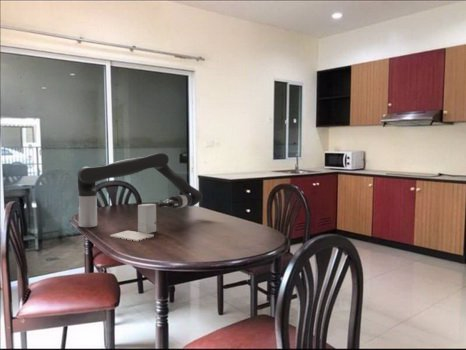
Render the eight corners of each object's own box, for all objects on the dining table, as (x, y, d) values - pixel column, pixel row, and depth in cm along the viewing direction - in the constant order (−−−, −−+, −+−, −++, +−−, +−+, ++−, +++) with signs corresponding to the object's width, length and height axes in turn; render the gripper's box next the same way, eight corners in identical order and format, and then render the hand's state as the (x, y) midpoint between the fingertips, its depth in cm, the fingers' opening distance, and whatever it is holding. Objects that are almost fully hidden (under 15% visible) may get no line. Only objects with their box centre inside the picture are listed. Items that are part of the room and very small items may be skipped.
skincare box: (146, 234, 193) (145, 205, 192) (137, 233, 196) (137, 204, 195) (156, 231, 201) (156, 203, 200) (148, 230, 204) (148, 202, 203)
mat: (110, 236, 188) (110, 235, 188) (127, 231, 199) (127, 230, 199) (137, 241, 179) (137, 239, 179) (154, 236, 190) (154, 234, 190)
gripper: (169, 194, 224) (149, 197, 208) (187, 196, 217) (168, 199, 202) (169, 206, 224) (149, 211, 209) (187, 209, 218) (168, 213, 203)
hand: (158, 205), depth 206 cm, fingers closed
